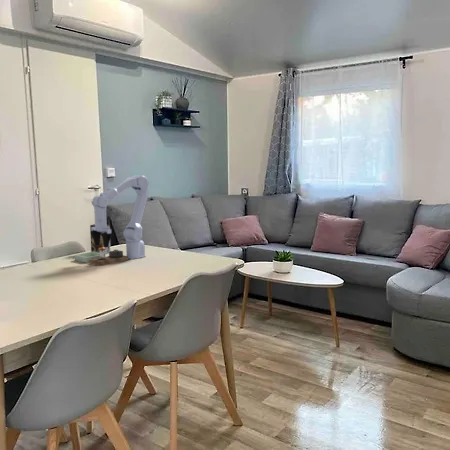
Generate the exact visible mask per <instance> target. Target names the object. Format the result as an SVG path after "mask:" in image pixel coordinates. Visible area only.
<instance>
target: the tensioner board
mask: <svg viewBox="0 0 450 450" xmlns="http://www.w3.org/2000/svg"><path fill="white" fill-rule="evenodd" d="M128 260H129V258H128V256H127V255H124V252H123V250H119V249H113V250H110V252H109V253H108V256H105V260H100V258H96V259H91V260H89V263H88V264H90V265H94V266H97V267H98V266H99V267H100V266H105V265H110V264H115V263H119V262H120V263H121V262H125V261H128Z"/></svg>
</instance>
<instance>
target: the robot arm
mask: <svg viewBox="0 0 450 450" xmlns="http://www.w3.org/2000/svg"><path fill="white" fill-rule="evenodd" d="M149 184H150V181H149V179H148V177H147V176H146V175H134V174H133V175H130V176H128V177H127V178H125V179H124V181H122V182H121V183H119V184H118V185H116V186H115V187H108V188H106V190H105V191H104V192H101V193H99V195H96V196H93V199H92V201H91V205H92V206H93V209H94V224H95V227H91V231H92V232H90V236H91V235H92V237H93V240H94V243H95V246H97V245H100V235H101V236H102V239H103V244H104V247H108V246H109V241H110V242H111V238H112V236H113V233H112V228H110V229H108V228H107V225H108V224H107V223H108V222H107V207H108V206H109V203H111V202H112V201H114V200H115V199H116V198H118V196H119V194H120V193H122V192H124V191H125V190H127V189H129V188H132V189H133V190H134V191H135V192H136V194H137V195H136V199H135V202H134V207H133V211H132V215H131V217H130V222H129V223H128V224H126V227H125V229H123V232H122V235H123V238H124V240H125V245H126V246H125V249H126V256H128V260H134V259H135V260H137V259H140V258H145V257H147V256H146V251H145V245H146V244H145V242H144V241H143V229H144V228H143V227H142V225H141V223H142V220H143V215H144V211H145V207H146V203H147V201H148V196H149ZM101 232H103V234H101Z"/></svg>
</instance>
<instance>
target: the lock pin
mask: <svg viewBox="0 0 450 450" xmlns="http://www.w3.org/2000/svg"><path fill="white" fill-rule="evenodd" d="M104 249H105V247H99V250H100V260H105V257H106V254H105V252H104Z"/></svg>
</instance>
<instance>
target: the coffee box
mask: <svg viewBox="0 0 450 450" xmlns="http://www.w3.org/2000/svg"><path fill="white" fill-rule="evenodd" d="M110 226H111V225H110V224H107V228H108V229H111V227H110ZM91 227H95V223H94V224H90V225H89V228H90V232H92V231H91ZM101 234H103V232H101ZM99 247H104V244H103V239H102V236H101V235H100V245H97V246H95V243H94V240H93V237H92V235H91V234H90V252H97V253H100V250H99ZM110 251H111V240H110V241H109V246H108V247H105V249H104V252H105V255H107V254H109V252H110Z"/></svg>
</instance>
